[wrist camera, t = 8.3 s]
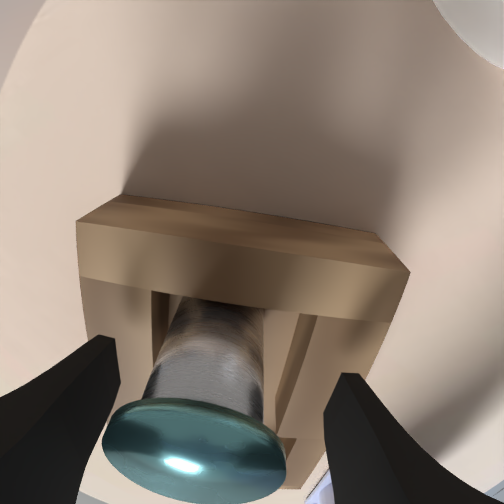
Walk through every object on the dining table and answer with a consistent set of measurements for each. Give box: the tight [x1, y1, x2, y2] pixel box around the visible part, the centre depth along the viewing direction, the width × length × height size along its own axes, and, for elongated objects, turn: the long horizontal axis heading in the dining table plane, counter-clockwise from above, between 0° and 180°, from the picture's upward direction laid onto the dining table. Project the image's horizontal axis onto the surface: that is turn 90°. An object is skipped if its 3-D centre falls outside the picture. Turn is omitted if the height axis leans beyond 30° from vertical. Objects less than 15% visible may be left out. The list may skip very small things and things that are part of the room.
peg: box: [102, 296, 287, 504], centre depth 10 cm, size 5×5×8 cm
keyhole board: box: [76, 194, 411, 489], centre depth 14 cm, size 11×15×4 cm
